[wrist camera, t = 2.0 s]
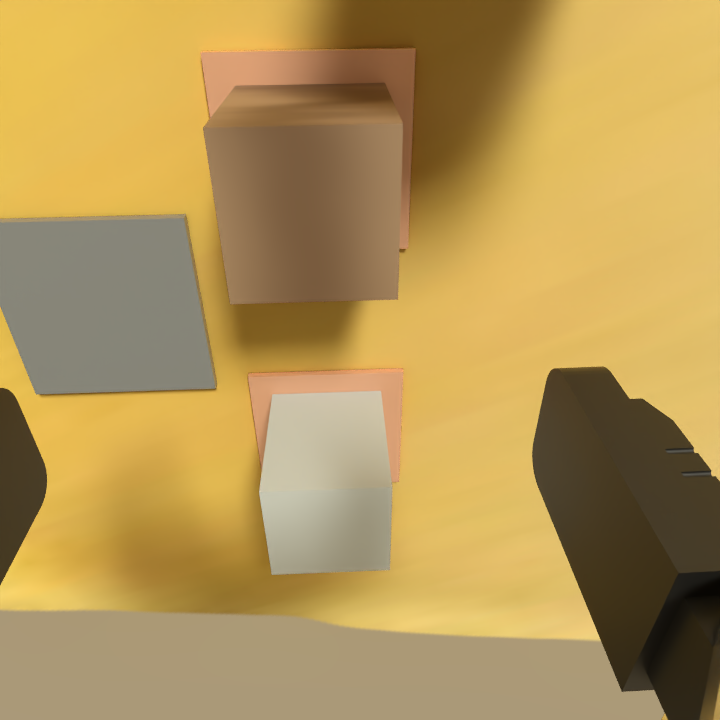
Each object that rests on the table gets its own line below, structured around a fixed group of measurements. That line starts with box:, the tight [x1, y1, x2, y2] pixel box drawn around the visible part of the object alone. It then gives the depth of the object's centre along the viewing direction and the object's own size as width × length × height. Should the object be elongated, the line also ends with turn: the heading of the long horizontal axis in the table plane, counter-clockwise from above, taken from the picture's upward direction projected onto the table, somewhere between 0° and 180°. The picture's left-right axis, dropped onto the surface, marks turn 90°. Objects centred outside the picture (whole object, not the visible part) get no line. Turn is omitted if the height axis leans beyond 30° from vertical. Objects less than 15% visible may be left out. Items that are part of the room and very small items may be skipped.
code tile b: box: [248, 368, 403, 482], centre depth 28 cm, size 7×7×1 cm
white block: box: [259, 391, 392, 575], centre depth 26 cm, size 5×5×6 cm
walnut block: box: [203, 83, 403, 304], centre depth 19 cm, size 5×5×6 cm
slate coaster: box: [0, 214, 217, 394], centre depth 24 cm, size 8×8×1 cm
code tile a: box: [201, 48, 416, 249], centre depth 21 cm, size 7×7×1 cm
